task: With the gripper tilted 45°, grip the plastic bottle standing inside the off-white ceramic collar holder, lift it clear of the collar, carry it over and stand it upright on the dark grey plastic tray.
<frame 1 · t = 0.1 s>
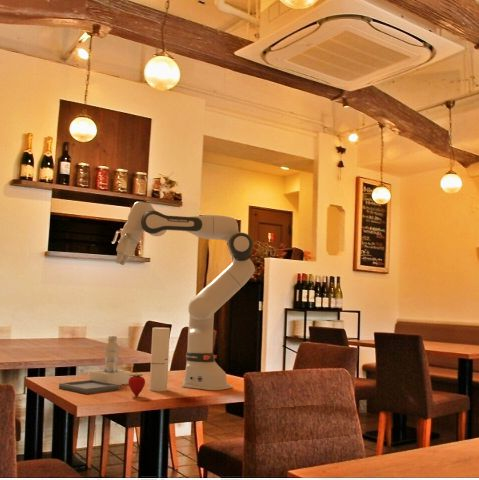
hand: (119, 263, 247), 52 cm above the table, tool tilted 20°, fingers open, 8 cm apart
strawberry: (136, 396, 210), on the table
grey tray: (89, 389, 223), on the table
plastic bottle: (110, 383, 240), resting in collar holder
collar holder: (110, 383, 240), on the table
white toy refrigerator: (158, 390, 227), on the table
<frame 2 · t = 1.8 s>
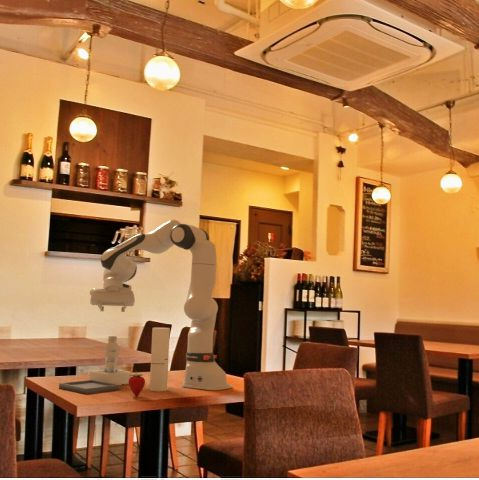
hand: (112, 310, 255), 31 cm above the table, tool tilted 45°, fingers open, 8 cm apart
nothing on the table moved.
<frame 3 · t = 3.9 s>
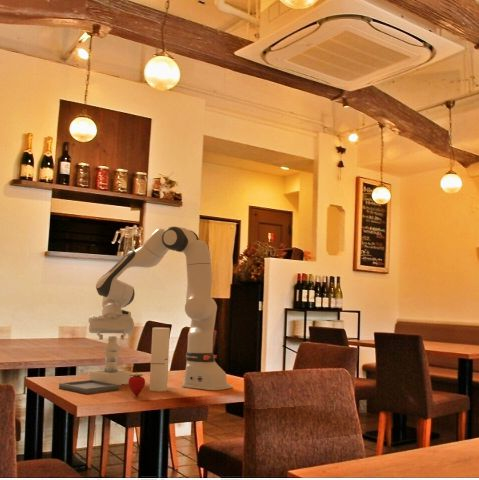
hand: (111, 339, 249), 18 cm above the table, tool tilted 45°, fingers open, 8 cm apart
nothing on the table moved.
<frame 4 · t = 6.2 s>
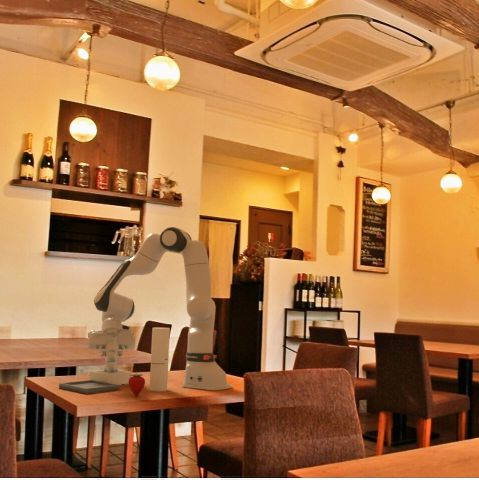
hand: (111, 355, 241), 12 cm above the table, tool tilted 45°, fingers closed on plastic bottle, 6 cm apart
plastic bottle: (110, 383, 240), resting in collar holder, touching gripper
everything else where it was.
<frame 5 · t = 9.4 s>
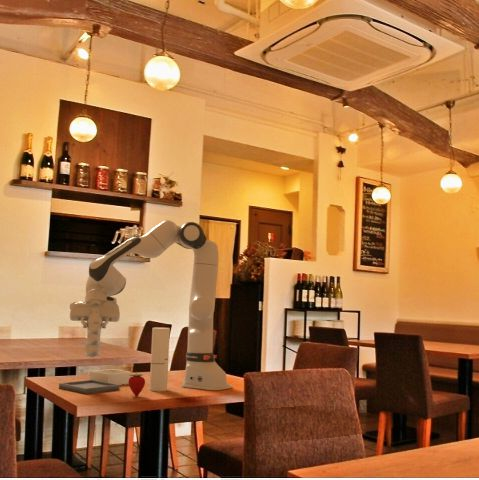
hand: (94, 327, 227), 25 cm above the table, tool tilted 45°, fingers closed on plastic bottle, 6 cm apart
plastic bottle: (92, 357, 226), point 12 cm above the table, touching gripper
everything else where it was.
when the fingers open (14 cm above the table, at t = 12.5 s): plastic bottle drops 1 cm, resting on grey tray.
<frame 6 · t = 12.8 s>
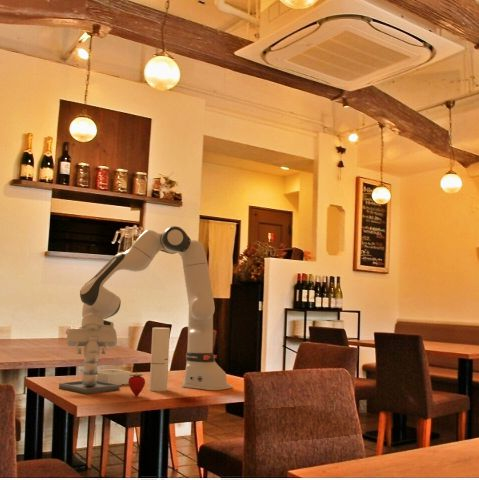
hand: (91, 353, 224), 14 cm above the table, tool tilted 45°, fingers open, 8 cm apart
plastic bottle: (89, 386, 223), point 1 cm above the table, touching grey tray
everything else where it was.
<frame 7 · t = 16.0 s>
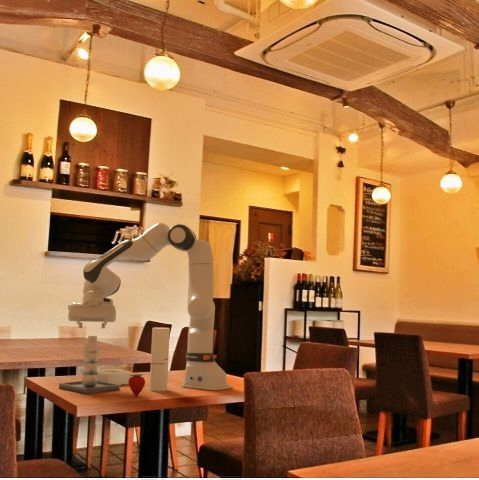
hand: (92, 327, 237), 24 cm above the table, tool tilted 45°, fingers open, 8 cm apart
nothing on the table moved.
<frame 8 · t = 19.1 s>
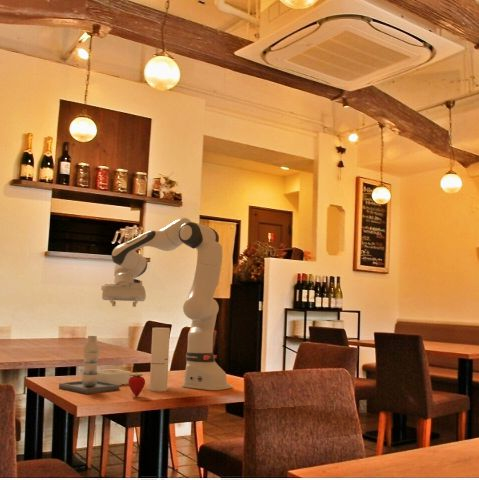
hand: (124, 305, 257), 33 cm above the table, tool tilted 45°, fingers open, 8 cm apart
nothing on the table moved.
at the end: plastic bottle inside the target area on the grey tray (0.0 cm from its centre), point 0.8 cm above the grey tray's base; plastic bottle tilted 0°; the gripper is holding nothing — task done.
